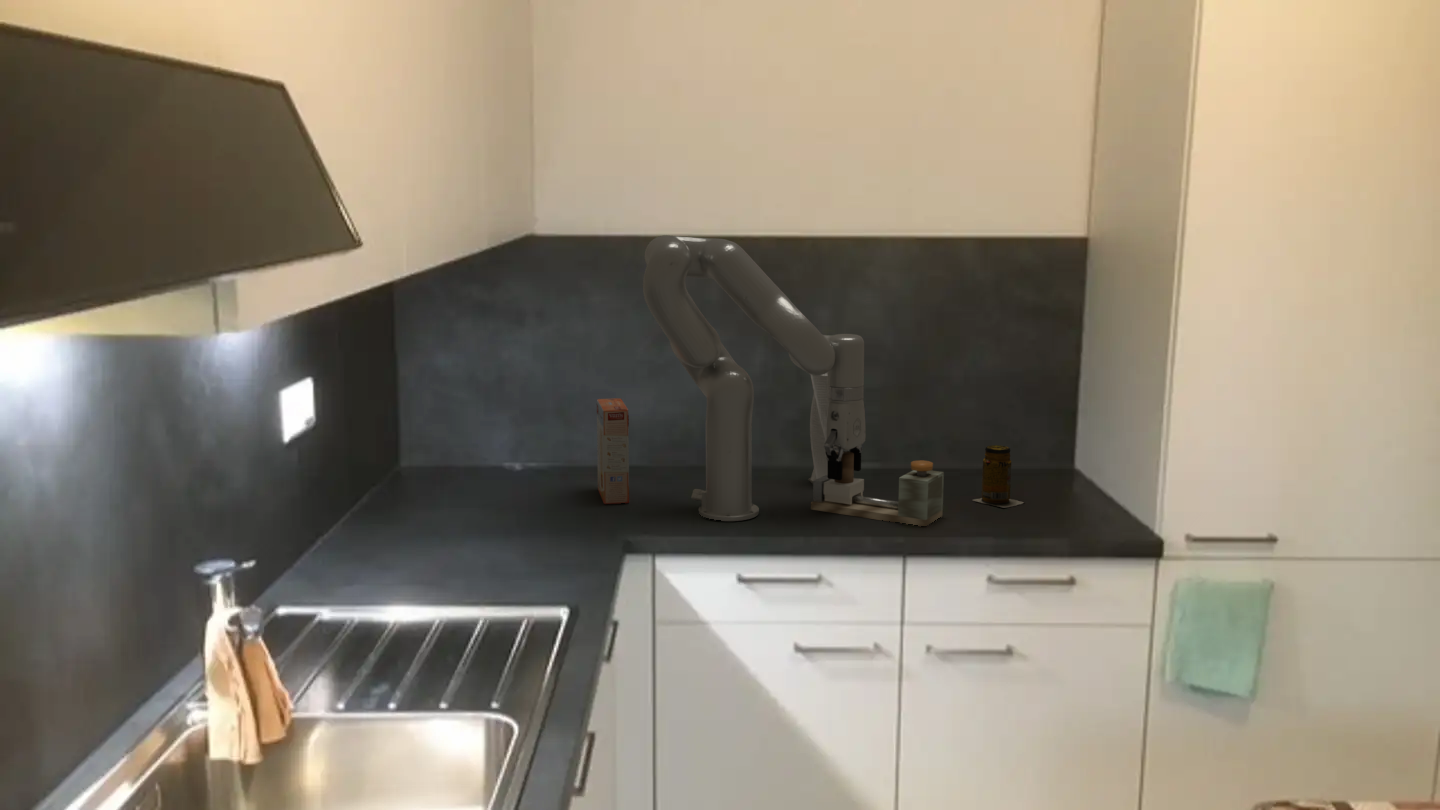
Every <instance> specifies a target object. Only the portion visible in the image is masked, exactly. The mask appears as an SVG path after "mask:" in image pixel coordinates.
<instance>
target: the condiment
mask: <svg viewBox="0 0 1440 810" xmlns="http://www.w3.org/2000/svg"><path fill="white" fill-rule="evenodd" d="M984 451H985V453H984V458H983V461H982V472H981V473H982V477H981V497H980V498H974V499H973V502H977V503H981V504H985V505H991V506H994V507H998V508H999V507H1000V508H1010V507H1011V508H1012V507H1015V506H1016V507H1017V506H1018V505H1022V504H1024V503H1025V502H1023V501H1019V500H1017V499H1013V498H1011V485H1012V484H1011V483H1012V482H1011V480H1012V460H1011V448H1010V447H1008V446H1006V445H999V444H993V445H991V444H990V445H988V446H986V447H985V450H984Z"/></svg>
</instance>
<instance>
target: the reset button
mask: <svg viewBox="0 0 1440 810" xmlns="http://www.w3.org/2000/svg"><path fill="white" fill-rule="evenodd" d="M933 468H934V462H932V461H929V460H923V459H922V460H920V459H919V460H913V461H910V469H911V471H913V470H915V471H917V476H920V477H927V471H931V470H932V471H934V470H933Z"/></svg>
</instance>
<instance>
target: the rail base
mask: <svg viewBox="0 0 1440 810" xmlns="http://www.w3.org/2000/svg"><path fill="white" fill-rule="evenodd" d="M827 476H828V474H827V475H825V476H823V477H820V478H818V479H816V480H814V481H813V483H812V501H811V502H810V510H813V511H820V512H824V513H825V512H826V513H832V514H837V515H838V514H839V515H846V516H851V517H857V518H864V519H872V520H877V521H882V520H883V522H889V521H890V523H895V522H900V523H899V524H902V523H906V524H905V525H908V524H913V525H912V526H914V525H918V526H917V527H921V526H927V525H928V526H930V525H931V524H930V523H932V522H933V523H934V521H935V520H936V521H938V520H939V519H938V518H940V517H941V518H943V513H944V512H943V511H944V510H943V509H944V504H943V503H944V480H945V479H944V477H945V473H944V471H939V470H938V471H937V470H931V471H927V477H920V476H917V471H915V470H910V471H909V472H907V473H905V474H903V475H901V476H900V477H899V478H898V500H896V501H895V500H889V499H882V498H876V497H869V496H864V495H863V496H856V495H854V496H852V504H844V503H837V502H830V501H825V494H824V482H826V481H829V480H831V479H828V477H827ZM941 518H940V519H941ZM937 519H938V520H937ZM936 521H935V522H936ZM933 523H932V524H933ZM929 524H930V525H929ZM928 526H927V527H928Z"/></svg>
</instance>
